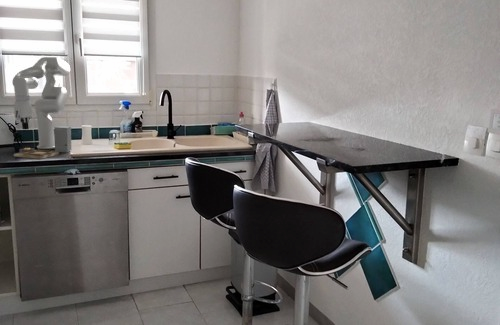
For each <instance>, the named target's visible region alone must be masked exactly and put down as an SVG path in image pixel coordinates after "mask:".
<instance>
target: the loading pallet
mask: <svg viewBox="0 0 500 325" xmlns="http://www.w3.org/2000/svg"><path fill="white" fill-rule="evenodd" d="M29 148H30V149H29V150H24V148H20V149H18V150H19V152H16V153H14V154H13V157H15V158H24V159H25V158H27V159H35V160H36V159H37V160H38V159H39V160H41V159H46V158H50V157H53V156H58V155H60V152H55V150H50V149H35V148H34V147H33V148H32V147H29Z"/></svg>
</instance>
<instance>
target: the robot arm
mask: <svg viewBox="0 0 500 325" xmlns="http://www.w3.org/2000/svg"><path fill="white" fill-rule="evenodd" d="M70 73H71V67H70V65H69V63H68V62H66V61H65V60H63V59H61V58H59V57H55V56H43V57H41V58H39V60H37V62H35V64H33V65H32V66H30V67H28V68H25V69H23V70H20V71H18V72H17V73H16V74H15V76H13V78H12V85H13V89H14V97H15V98H14V99H15V100H14V104H13V114H14V118H16V121H20V123H21V124H22V126H21V127H22V130H29V122H30V120H31V119H32V118H33V116H34V115H33V107H34V110H35V115H36V122H37V132H38V145H37V146H36V148H37V149H38V150H51V149H55V133H54V127H55V126H54V119H53V117H52V116H51V115H59V114H61V113H63V111H64V108H65V106H66V103H67V99H68V91H67V89H66V87H64V86H60V82H59V80H58V79H57V78H56V76H58V77H59V76H60V77H61V76H62V77H63V76H68V75H70ZM44 77H45V85H44V87H43V89H42V92H41V98H39V99H37V100H35V102H34V104H33V105H34V106H32V102H31V100H30V92H29V91H30V90H33V89H37V87H38V86H39V79H42V78H44Z"/></svg>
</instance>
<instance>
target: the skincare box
mask: <svg viewBox="0 0 500 325" xmlns="http://www.w3.org/2000/svg"><path fill="white" fill-rule="evenodd" d="M54 137H55V148H54V151H55V152H59V153H70V152H71V151H72V127H71V126H64V125H63V126H62V125H61V126H60V125H59V126H54ZM70 150H71V151H70ZM69 151H70V152H69Z"/></svg>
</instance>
